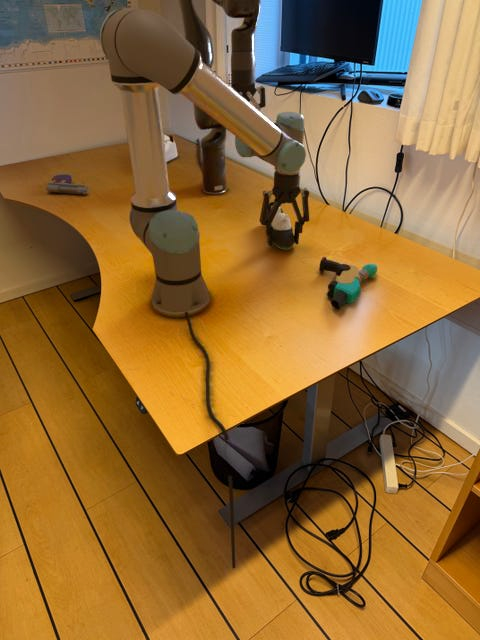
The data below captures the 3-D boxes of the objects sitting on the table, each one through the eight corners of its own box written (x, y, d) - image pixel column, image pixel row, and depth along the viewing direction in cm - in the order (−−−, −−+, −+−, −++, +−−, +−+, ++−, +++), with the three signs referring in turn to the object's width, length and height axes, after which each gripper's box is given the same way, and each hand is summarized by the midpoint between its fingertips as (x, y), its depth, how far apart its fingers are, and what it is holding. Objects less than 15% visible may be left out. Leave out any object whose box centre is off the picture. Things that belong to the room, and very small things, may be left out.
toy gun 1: (101, 183, 198) (84, 197, 186) (60, 181, 201) (41, 194, 189) (99, 174, 195) (82, 188, 184) (58, 172, 199) (39, 185, 187)
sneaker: (133, 173, 208) (129, 144, 201) (161, 153, 230) (158, 127, 223) (155, 175, 205) (151, 146, 198) (180, 155, 227) (178, 129, 220)
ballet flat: (273, 251, 145) (274, 226, 140) (256, 220, 165) (257, 197, 160) (298, 249, 147) (301, 225, 142) (279, 218, 166) (280, 195, 161)
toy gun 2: (296, 289, 121) (353, 304, 115) (329, 248, 140) (380, 259, 134) (295, 304, 124) (351, 319, 118) (328, 261, 142) (377, 273, 136)
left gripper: (317, 165, 140) (310, 235, 154) (249, 169, 137) (248, 240, 150) (326, 173, 134) (318, 246, 148) (254, 177, 131) (253, 251, 144)
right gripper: (262, 64, 152) (261, 118, 161) (218, 66, 150) (220, 120, 159) (268, 68, 146) (267, 123, 155) (222, 70, 144) (224, 126, 153)
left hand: (282, 243), depth 149 cm, fingers closed on ballet flat, 8 cm apart
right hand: (243, 122), depth 157 cm, fingers open, 8 cm apart
